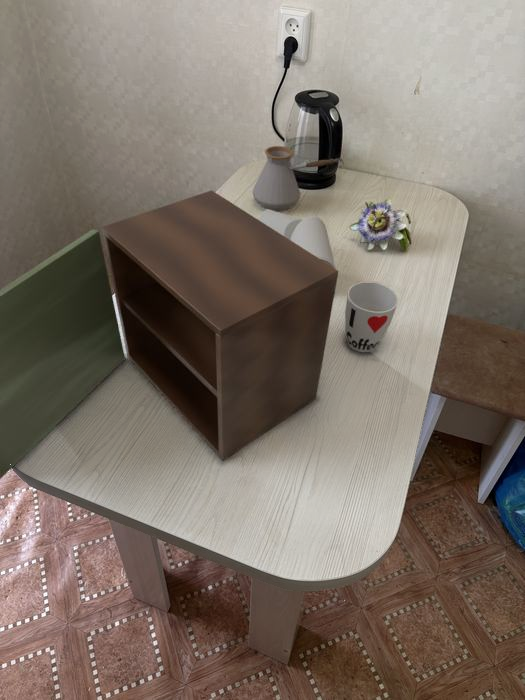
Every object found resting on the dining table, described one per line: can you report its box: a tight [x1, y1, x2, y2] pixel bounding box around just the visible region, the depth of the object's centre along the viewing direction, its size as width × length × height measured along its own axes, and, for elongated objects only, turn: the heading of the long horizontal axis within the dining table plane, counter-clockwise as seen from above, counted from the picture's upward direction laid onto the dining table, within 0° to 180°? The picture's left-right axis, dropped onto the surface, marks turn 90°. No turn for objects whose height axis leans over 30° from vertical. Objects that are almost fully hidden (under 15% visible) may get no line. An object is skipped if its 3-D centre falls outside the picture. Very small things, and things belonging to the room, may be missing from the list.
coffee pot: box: [252, 145, 345, 213], centre depth 116 cm, size 21×12×15 cm, turn 59°
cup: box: [344, 281, 399, 353], centre depth 85 cm, size 8×8×10 cm
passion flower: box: [349, 196, 412, 252], centre depth 110 cm, size 11×11×12 cm
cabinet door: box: [0, 228, 126, 480], centre depth 67 cm, size 8×26×24 cm, turn 153°
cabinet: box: [101, 189, 339, 462], centre depth 72 cm, size 18×26×24 cm
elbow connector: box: [257, 209, 337, 270], centre depth 100 cm, size 18×10×20 cm
